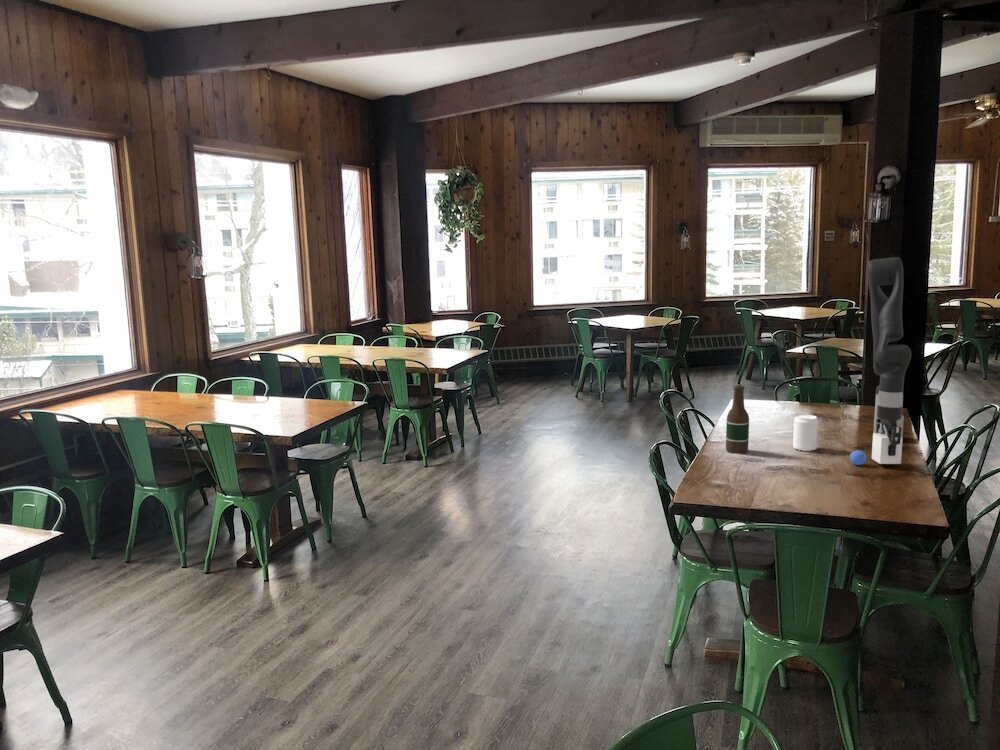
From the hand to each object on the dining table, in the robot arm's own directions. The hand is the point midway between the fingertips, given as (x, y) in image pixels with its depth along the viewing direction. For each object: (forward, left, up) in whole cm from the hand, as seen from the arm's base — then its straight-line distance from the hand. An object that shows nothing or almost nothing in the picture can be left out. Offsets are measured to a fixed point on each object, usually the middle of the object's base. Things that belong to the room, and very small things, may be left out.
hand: (886, 452), depth 271 cm
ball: (+9, 0, -2) cm, 9 cm away
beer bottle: (+45, -18, -5) cm, 49 cm away
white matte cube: (0, 0, -3) cm, 3 cm away
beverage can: (+20, -21, -5) cm, 30 cm away
